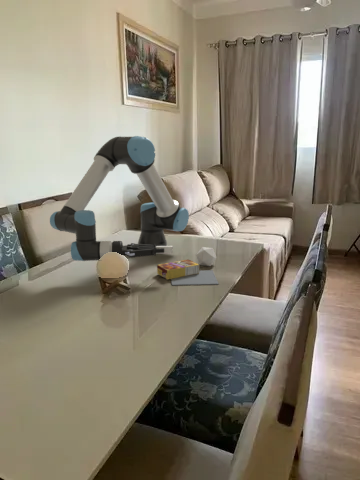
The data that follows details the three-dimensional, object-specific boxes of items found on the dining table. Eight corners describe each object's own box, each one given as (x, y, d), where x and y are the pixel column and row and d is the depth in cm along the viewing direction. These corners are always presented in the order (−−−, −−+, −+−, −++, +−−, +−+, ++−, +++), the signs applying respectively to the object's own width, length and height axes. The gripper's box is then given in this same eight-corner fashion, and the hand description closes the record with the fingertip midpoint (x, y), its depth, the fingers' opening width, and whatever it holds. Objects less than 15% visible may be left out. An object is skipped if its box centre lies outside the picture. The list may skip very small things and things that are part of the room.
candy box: (156, 263, 159) (188, 258, 167) (156, 273, 160) (188, 268, 168) (167, 269, 152) (199, 264, 159) (167, 279, 153) (199, 274, 160)
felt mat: (170, 271, 163) (170, 271, 163) (212, 271, 165) (212, 270, 164) (171, 285, 148) (171, 284, 148) (218, 284, 149) (218, 283, 149)
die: (218, 264, 175) (210, 245, 178) (219, 260, 167) (210, 241, 170) (202, 271, 175) (194, 252, 178) (201, 267, 167) (193, 247, 169)
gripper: (114, 255, 158) (171, 254, 160) (110, 264, 146) (173, 263, 147) (113, 237, 156) (171, 236, 158) (110, 245, 144) (173, 244, 146)
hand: (172, 249), depth 153 cm, fingers closed
